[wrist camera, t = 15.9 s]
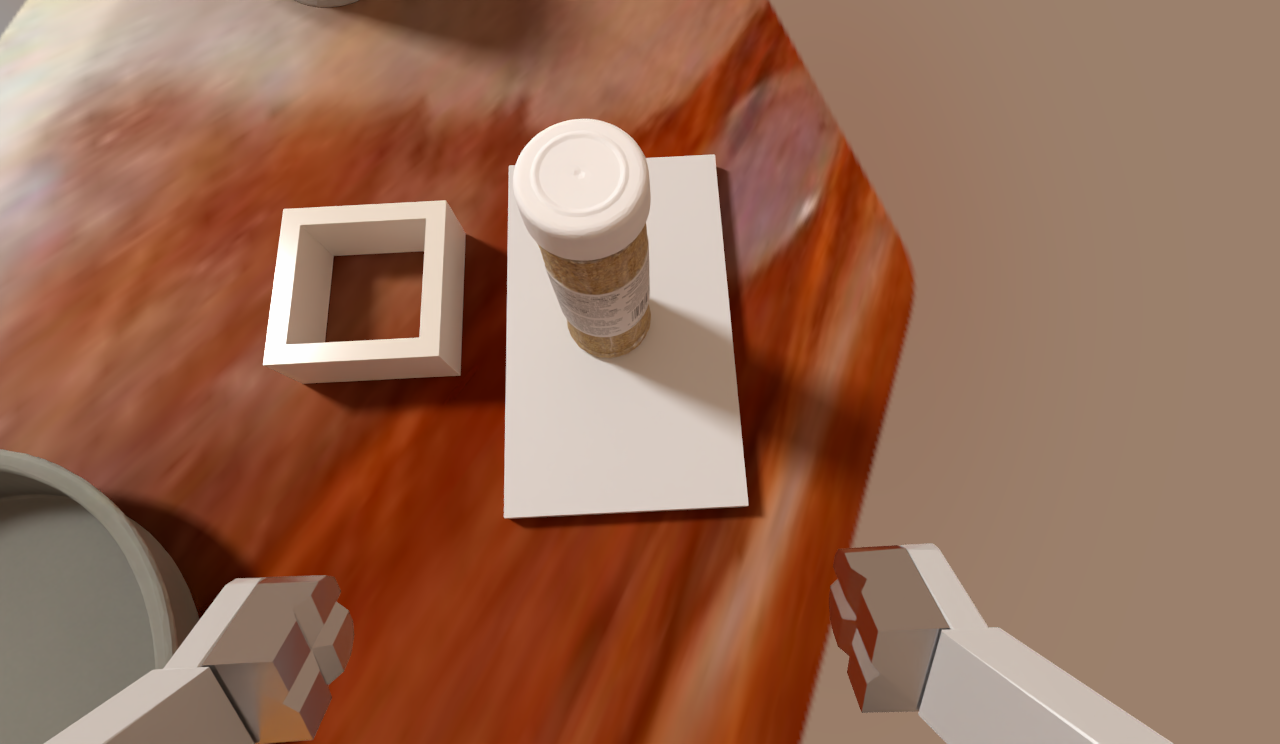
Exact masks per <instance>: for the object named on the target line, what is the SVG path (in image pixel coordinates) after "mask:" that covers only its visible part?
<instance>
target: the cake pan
mask: <svg viewBox="0 0 1280 744" xmlns="http://www.w3.org/2000/svg"><path fill="white" fill-rule="evenodd" d="M198 621H199V617H198V613H197V610H196V607H195V604H194V601H193V598H192V595H191V593H190V590H189V588H188V586H187V584H186V582H185V580H184V578H183V576H182V574H181V572H180V570H179V569H178V567H177V565H176V564H175V562H174V561H173V559H172V558H171V556H170V555H169V554H168V553H167V551H166V550H165V549H164V548H163V547H162V545H161V544H160V543H159V542H158V541H157V540H156V539H155V538H154V537H153V536H152V535H151V534H150V533H149V532H148V531H147V530H145V529H144V528H143V527H142V526H140V525H139V524H138V523H137V522H135V521H134V520H132V519H130V518H129V517H127V516H126V515H125V514H124V513H123V512H122V511H121V510H120V509H119V508H118V507H117V506H116V505H115V504H114V503H113V502H112V501H111V500H110V499H109V498H108V497H107V496H105V495H104V494H103V493H102V492H101V491H99V490H98V489H97V488H95V487H94V486H93V485H91V484H90V483H89V482H87V481H86V480H84V479H83V478H81V477H79V476H78V475H76V474H74V473H72V472H70V471H69V470H67V469H65V468H63V467H61V466H60V465H57V464H54V463H52V462H49V461H47V460H45V459H41V458H39V457H34V456H31V455H28V454H24V453H18V452H12V451H7V450H2V449H0V744H44V743H45V742H47V741H48V740H50V739H51V738H53V737H54V736H56V735H57V734H59V733H60V732H62V731H63V730H65V729H66V728H67V727H69V726H70V725H72V724H73V723H75V722H76V721H78V720H79V719H81V718H82V717H84V716H85V715H87V714H88V713H90V712H91V711H93V710H94V709H95V708H97V707H98V706H100V705H101V704H103V703H104V702H106V701H107V700H109V699H110V698H112V697H113V696H115V695H116V694H118V693H119V692H121V691H122V690H124V689H125V688H126V687H128V686H129V685H131V684H132V683H134V682H135V681H137V680H138V679H140V678H141V677H143V676H144V675H146V674H147V673H149V672H150V671H152V670H155V669H163V668H164V667H165V666H166V664H167V663H168V662H169V660H170V659H171V658H172V656H173V655H174V653H175V652H176V651H177V649H178V648H179V647H180V645H181V644H182V643H183V641H184V640H185V639H186V637H187V636H188V635H189V633H190V632H191V631H192V629H193V628H194V627H195V625H196V624H197V623H198Z"/></svg>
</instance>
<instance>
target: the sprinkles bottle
mask: <svg viewBox="0 0 1280 744" xmlns="http://www.w3.org/2000/svg"><path fill="white" fill-rule="evenodd" d="M513 191H514V196H515V200H516V203H517V206H518V209H519V212H520V214H521V217H522V219H523V222H524V224H525V226H526V228H527V230H528V232H529V234H530V235H531V237H532V238H533V239H534V240H535V241H536V242H537V244H538V246H539V248H540V251H541V254H542V257H543V260H544V263H545V269H546V271H547V274H548V277H549V279H550V282H551V285H552V287H553V290H554V292H555V295H556V297H557V300H558V302H559V305H560V307H561V310H562V312H563V314H564V316H565V317H566V319H567V326H568V329H569V332H570V335H571V336H572V338H573V339H574V341H575V342H576V343H577V345H578V346H579V347H580V348H581V349H583V350H585V351H586V352H588V353H589V354H592V355H595V356H597V357H602V358H613V357H619V356H622V355H624V354H627V353H629V352H631V351H632V350H634V349H635V348H636V347H638V346H639V345H640V344H641V342H642V341H643V339H644V338H645V337H646V334H647V332H648V330H649V328H650V321H651V311H650V307H649V298H650V276H649V241H648V235H647V227H646V221H647V218H648V215H649V211H650V203H651V193H650V179H649V169H648V164H647V161H646V158H645V156H644V154H643V152H642V150H641V149H640V147H639V146H638V144H637V143H636V142H635V141H634V139H633V138H632V137H631V136H629V135H628V134H627V133H626V132H624V131H623V130H621V129H620V128H618V127H616V126H614V125H612V124H609V123H606V122H603V121H599V120H593V119H574V120H568V121H564V122H560V123H557V124H555V125H552V126H550V127H548V128H546V129H545V130H543V131H542V132H540V133H538V134H537V135H536V136H535V137H533V138H532V140H531V141H530V142H529V143H528V144H527V145H526V146H525V148H524V149H523V151H522V152H521V154H520V156H519V158H518V160H517V162H516V165H515V168H514V174H513Z"/></svg>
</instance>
